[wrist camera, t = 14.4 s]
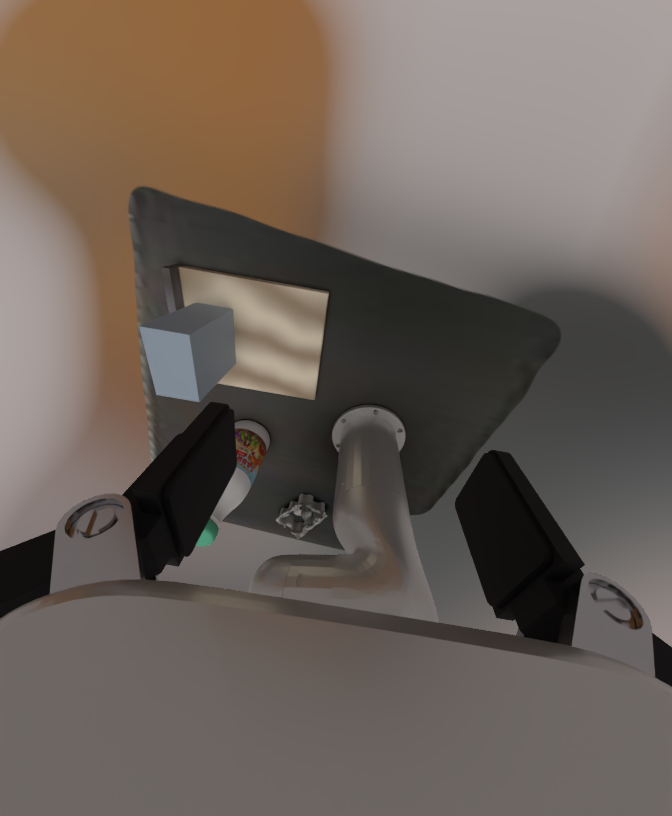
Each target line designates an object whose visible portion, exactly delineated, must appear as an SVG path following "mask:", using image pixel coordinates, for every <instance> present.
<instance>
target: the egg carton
mask: <svg viewBox="0 0 672 816" xmlns="http://www.w3.org/2000/svg"><path fill="white" fill-rule="evenodd" d="M302 505H303V506H302ZM301 506H302V510H300V507H301ZM292 511H294V514H295V515H299V516H300V515H301V517H302V518H303V519H304V520H305V521H304V523H303V522H295V521H294V519H295V518H294V517H293V516H291V515H290V512H292ZM312 511H313V512H314V516H313V517H312V516H311V515H312ZM324 511H325V503H323V502H320V503H317V502H314V501H313V496H312V495H310V494H309V495H304V494H301V495H300V496H299V500H298V502H295V501H291V502H290V505H289V508H284V507H283V508H282V509H281V511H280V515H279V517H278V518H277V519H276V521H277V522H278V523H279V524H280V523H281V524H282V525H283V526H284V527H286V525H287V526H289V527H290V531H291V533H292V534H293V535H295V536H296V537H297V538H296V539H299V538H301V537H302V536H304V535H305V534H306V533H307V531H308V530H310V529H312V528H313V527H314V526H316V525H317V524H319V523H320V522H321V521H322V520H323V519H324V518H325V517H327V515H326V513H325V512H324Z"/></svg>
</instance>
